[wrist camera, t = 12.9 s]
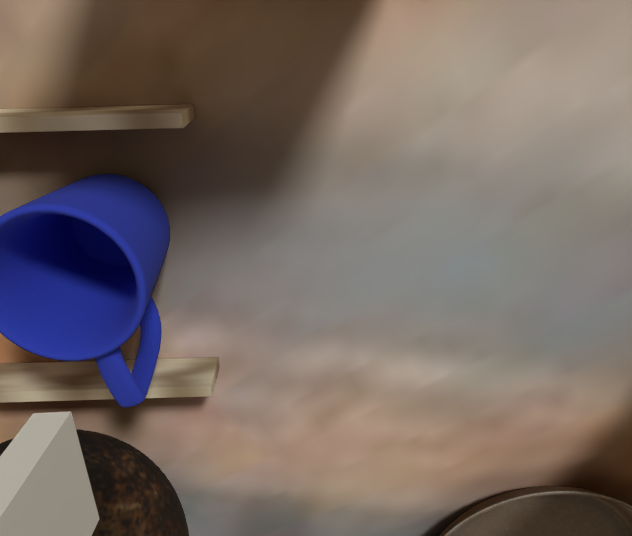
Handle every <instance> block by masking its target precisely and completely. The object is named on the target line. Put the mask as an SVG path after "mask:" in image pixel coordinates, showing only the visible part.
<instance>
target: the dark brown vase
mask: <svg viewBox="0 0 632 536" xmlns="http://www.w3.org/2000/svg"><path fill="white" fill-rule="evenodd" d="M76 432H77V435H78V439H79V443H80V447H81V451H82V454H83V458H84V462H85V466H86V470H87V473H88V477H89V481H90V485H91V488H92V492H93V496H94V500H95V504H96V507H97V511H98V515H99V521H98V523H97V525H96V527H95V530H94V532H93V534H92V536H189V532H188V526H187V522H186V518H185V514H184V511H183V508H182V505H181V503H180V500H179V498H178V496H177V494H176V492H175V490H174V488H173V486H172V484H171V483H170V482H169V480H168V479H167V477H166V476H165V474H164V473H163V472H162V471H161V470H160V468H159V467H158V466H156V465H155V463H154V462H153V461H152V460H150V459H149V458H148V457H147V456H145V455H144V454H143V453H142V452H140V451H139V450H137V449H136V448H134V447H133V446H131V445H129V444H127V443H125V442H123V441H120V440H118V439H116V438H114V437H111V436H108V435H105V434H101V433H97V432H91V431H84V430H76ZM13 439H14V438H13ZM13 439H11V440H8V441H5V442H3V443H1V444H0V456H1V455H2V453H3V452H4V451H5V449H6V448H7V447H8V446H9V444H10V443H11V442H12V440H13Z"/></svg>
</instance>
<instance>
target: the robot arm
mask: <svg viewBox="0 0 632 536" xmlns="http://www.w3.org/2000/svg"><path fill="white" fill-rule="evenodd" d="M98 521H99V515H98V511H97V507H96V504H95V500H94V496H93V492H92V488H91V485H90V481H89V477H88V473H87V470H86V466H85V462H84V458H83V454H82V451H81V447H80V443H79V439H78V435H77V432H76V428H75V424H74V420H73V416H72V413H71V411H70V412H50V413H33V414H32V416H31V417H30V418H29V419H28V421H27V422H26V423H25V425H24V426H23V427H22V429H21V430H20V431H19V433H18V434H17V435H16V436H15V438H14V439H13V440H12V442H11V443H10V444H9V446H8V447H7V448H6V449H5V451H4V452H3V453H2V455H1V456H0V536H92V534H93V532H94V530H95V527H96V525H97V523H98Z"/></svg>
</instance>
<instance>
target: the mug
mask: <svg viewBox="0 0 632 536" xmlns="http://www.w3.org/2000/svg"><path fill="white" fill-rule="evenodd" d="M169 241H170V227H169V221H168V217H167V215H166V212H165V210H164V208H163V206H162V204H161V203H160V201H159V200H158V198H157V197H156V196H155V195H154V194H153V193H152V192H151V191H150V190H149V189H148V188H147V187H145V186H144V185H142V184H141V183H139V182H137V181H135V180H133V179H131V178H128V177H125V176H121V175H115V174H98V175H92V176H89V177H85V178H83V179H80V180H78V181H76V182H74V183H71V184H69V185H67V186H65V187H62V188H60V189H58V190H56V191H54V192H51V193H49V194H47V195H45V196H42V197H40V198H38V199H36V200H34V201H31V202H29V203H27V204H25V205H22V206H20V207H18V208H16V209H14V210H11V211H9V212H7V213H5V214H4V215H2V216H1V217H0V333H1V334H2V335H3V336H5V337H6V338H7V339H9V340H10V341H11V342H13V343H14V344H16V345H17V346H19V347H21V348H23V349H24V350H26V351H29V352H31V353H33V354H36V355H39V356H42V357H45V358H49V359H55V360H62V361H81V360H88V359H93V358H95V360H96V363H97V366H98V369H99V371H100V374H101V376H102V378H103V380H104V382H105V383H106V385H107V387H108V389H109V391H110V393H111V394H112V396H113V397H114V399H115V400H116V402H117V403H118V404H119V405H120V406H121V407H132V406H135V405H138V404H140V403H141V402H143V401H144V399H145V398H146V395H147V393H148V390H149V386H150V383H151V380H152V377H153V374H154V370H155V367H156V363H157V358H158V354H159V349H160V343H161V321H160V317H159V313H158V310H157V307H156V305H155V303H154V301H153V299H152V297H151V294H152V291H153V288H154V285H155V283H156V280H157V277H158V275H159V272H160V269H161V266H162V264H163V261H164V258H165V256H166V253H167V250H168V246H169ZM139 324H140V327H141V338H140V345H139V350H138V354H137V358H136V361H135V364H134V367H133V370H132V372H130V370H129V368H128V367H127V365H126V363H125V361H124V359H123V356H122V353H121V349H120V346H121V345H122V344H124V343H125V342H126V341H127V340H128V339H129V338H130V337H131V336H132V335H133V333H134V332H135V331H136V329H137V328H138V326H139Z"/></svg>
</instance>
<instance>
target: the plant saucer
mask: <svg viewBox="0 0 632 536" xmlns="http://www.w3.org/2000/svg"><path fill="white" fill-rule="evenodd" d="M439 536H632V506H631V505H629V504H627V503H625V502H623V501H621V500H618V499H616V498H614V497H611V496H608V495H605V494H602V493H599V492H596V491H592V490H588V489H582V488H575V487H566V486H538V487H529V488H524V489H518V490H514V491H510V492H507V493H503V494H501V495H498V496H495V497H493V498H490V499H488V500H486V501H483V502H481V503H480V504H478V505H476V506H474V507H472V508H471V509H469V510H468V511H466V512H465V513H463V514H462V515H460V516H459V517H458V518H457V519H456V520H454V521H453V522H452V523H451V524H450V525H449V526H448V527H447V528H446V529H445V530H444V531H443V532H442V533H441V534H440V535H439Z"/></svg>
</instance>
